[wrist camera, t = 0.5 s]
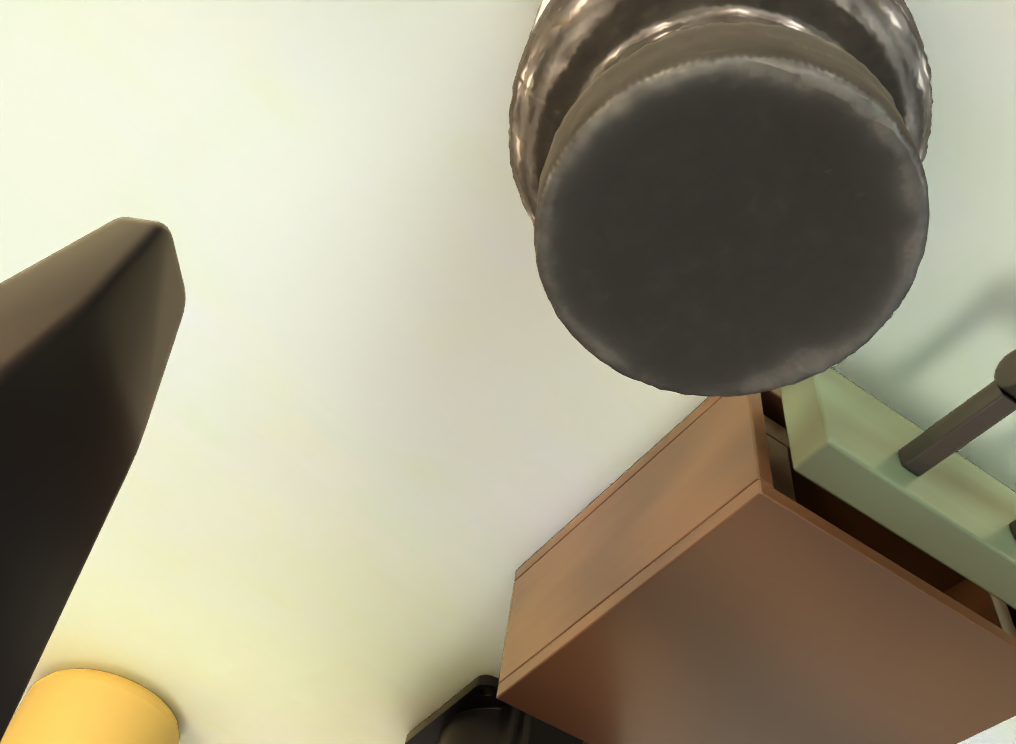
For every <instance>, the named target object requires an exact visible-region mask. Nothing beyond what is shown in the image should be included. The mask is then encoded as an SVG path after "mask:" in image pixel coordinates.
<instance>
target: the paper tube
mask: <svg viewBox="0 0 1016 744" xmlns="http://www.w3.org/2000/svg"><path fill="white" fill-rule="evenodd" d="M179 738H180V735H179V729H178V723H177V720H176V718H175V716H174V714H173V713H172V711H171V710H170V709H169V708H168V706H167V705H166V704H165V703H164V702H163V701H162V700H161V699H160V698H159V697H157V696H156V695H155V694H154V693H152V692H151V691H149V690H148V689H146V688H144V687H143V686H141V685H139V684H137V683H135V682H133V681H131V680H129V679H126V678H124V677H121V676H118V675H115V674H112V673H108V672H104V671H99V670H92V669H66V670H60V671H56V672H53V673H51V674H49V675H47V676H45V677H43V678H42V679H40V680H38V681H37V682H36V683H35V684H34V685H33V686H32V687H31V688H30V689H29V691H28V692H27V694H26V696H25V697H24V699H23V701H22V702H21V704H20V706H19V707H18V709H17V711H16V712H15V714H14V716H13V717H12V719H11V721H10V723H9V725H8V727H7V729H6V732H5V734H4V736H3V738H2V740H1V742H0V744H178V743H179Z"/></svg>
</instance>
